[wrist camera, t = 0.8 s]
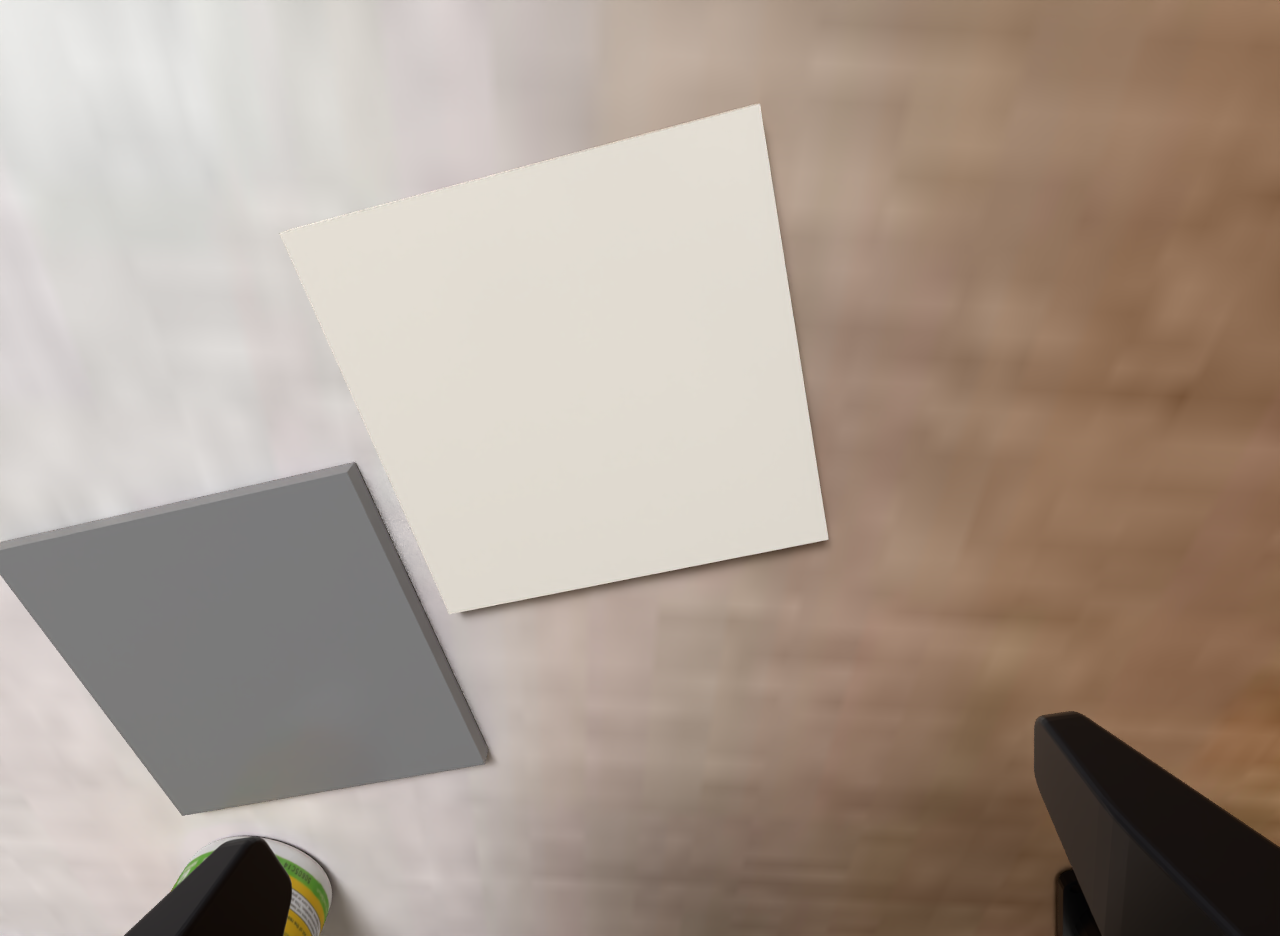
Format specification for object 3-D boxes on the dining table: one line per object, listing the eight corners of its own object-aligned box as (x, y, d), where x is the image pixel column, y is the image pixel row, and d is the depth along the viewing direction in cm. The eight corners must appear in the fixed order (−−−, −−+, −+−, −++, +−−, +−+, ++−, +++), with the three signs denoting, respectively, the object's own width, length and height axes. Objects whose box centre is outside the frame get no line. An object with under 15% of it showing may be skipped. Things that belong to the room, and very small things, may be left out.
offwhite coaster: (823, 528, 21) (828, 539, 20) (454, 601, 22) (449, 614, 22) (756, 103, 16) (760, 103, 16) (290, 228, 17) (279, 233, 17)
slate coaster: (488, 749, 25) (484, 764, 24) (191, 801, 26) (182, 815, 26) (354, 462, 20) (347, 471, 20) (1, 542, 21) (-16, 553, 21)
